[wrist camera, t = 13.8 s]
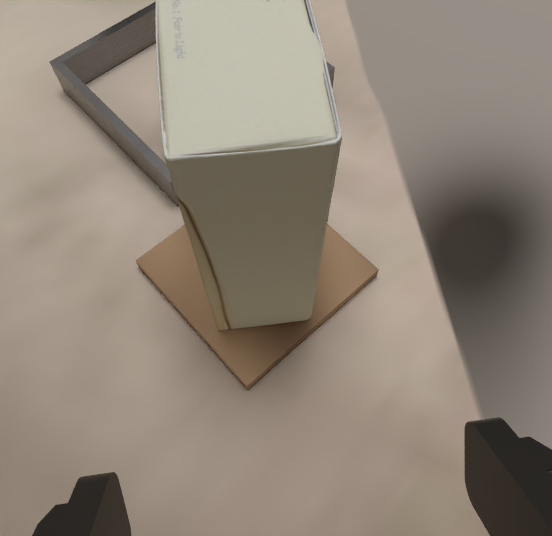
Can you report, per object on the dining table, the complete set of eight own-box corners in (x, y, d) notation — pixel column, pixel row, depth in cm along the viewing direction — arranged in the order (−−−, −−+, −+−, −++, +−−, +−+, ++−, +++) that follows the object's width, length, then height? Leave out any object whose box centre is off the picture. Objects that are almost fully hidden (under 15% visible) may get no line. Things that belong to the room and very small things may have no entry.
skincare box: (207, 216, 26) (148, -19, 15) (297, 205, 26) (304, -34, 15) (217, 337, 23) (153, 159, 12) (318, 324, 23) (346, 137, 12)
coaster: (247, 389, 22) (246, 386, 22) (138, 266, 25) (135, 260, 24) (376, 275, 25) (378, 269, 24) (263, 174, 27) (263, 167, 27)
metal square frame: (177, 206, 27) (170, 182, 25) (63, 89, 30) (49, 61, 29) (331, 95, 30) (334, 67, 28) (210, 2, 34) (206, -27, 32)
